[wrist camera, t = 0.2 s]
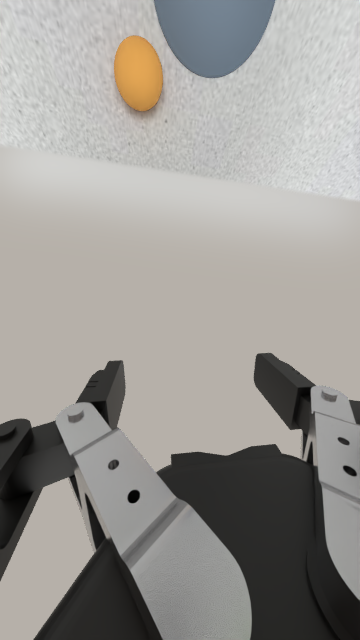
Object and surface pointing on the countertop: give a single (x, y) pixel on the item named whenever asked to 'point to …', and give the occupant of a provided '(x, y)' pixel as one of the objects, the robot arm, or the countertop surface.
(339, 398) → the robot arm
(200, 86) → the countertop surface
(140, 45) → the ball
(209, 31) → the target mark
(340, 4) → the countertop surface
